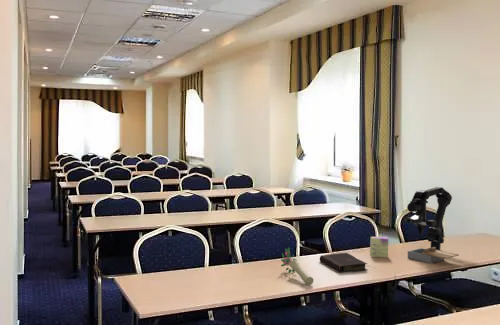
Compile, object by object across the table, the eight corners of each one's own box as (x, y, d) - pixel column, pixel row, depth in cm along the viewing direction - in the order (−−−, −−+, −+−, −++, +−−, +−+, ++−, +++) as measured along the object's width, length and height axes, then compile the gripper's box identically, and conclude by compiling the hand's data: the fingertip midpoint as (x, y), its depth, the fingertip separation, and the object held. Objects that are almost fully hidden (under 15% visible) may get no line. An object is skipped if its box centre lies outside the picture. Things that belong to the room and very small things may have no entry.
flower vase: (301, 299, 262) (275, 267, 293) (322, 290, 265) (294, 260, 296) (297, 280, 257) (271, 250, 289) (318, 271, 260) (291, 242, 292)
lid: (434, 250, 319) (434, 246, 318) (458, 255, 306) (458, 251, 306) (421, 253, 310) (421, 249, 310) (445, 258, 297) (445, 254, 297)
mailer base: (421, 254, 326) (421, 248, 326) (443, 260, 314) (444, 252, 313) (407, 258, 318) (407, 251, 318) (430, 263, 305) (430, 256, 305)
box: (386, 255, 325) (387, 236, 324) (388, 257, 319) (388, 238, 319) (369, 254, 326) (370, 236, 325) (371, 257, 320) (371, 238, 320)
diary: (338, 274, 284) (338, 265, 283) (319, 263, 308) (319, 255, 307) (368, 271, 289) (368, 262, 289) (347, 260, 313) (347, 252, 313)
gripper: (400, 210, 327) (400, 234, 328) (427, 213, 313) (427, 239, 314) (411, 208, 334) (410, 232, 335) (437, 211, 320) (437, 236, 321)
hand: (420, 234), depth 326 cm, fingers closed
